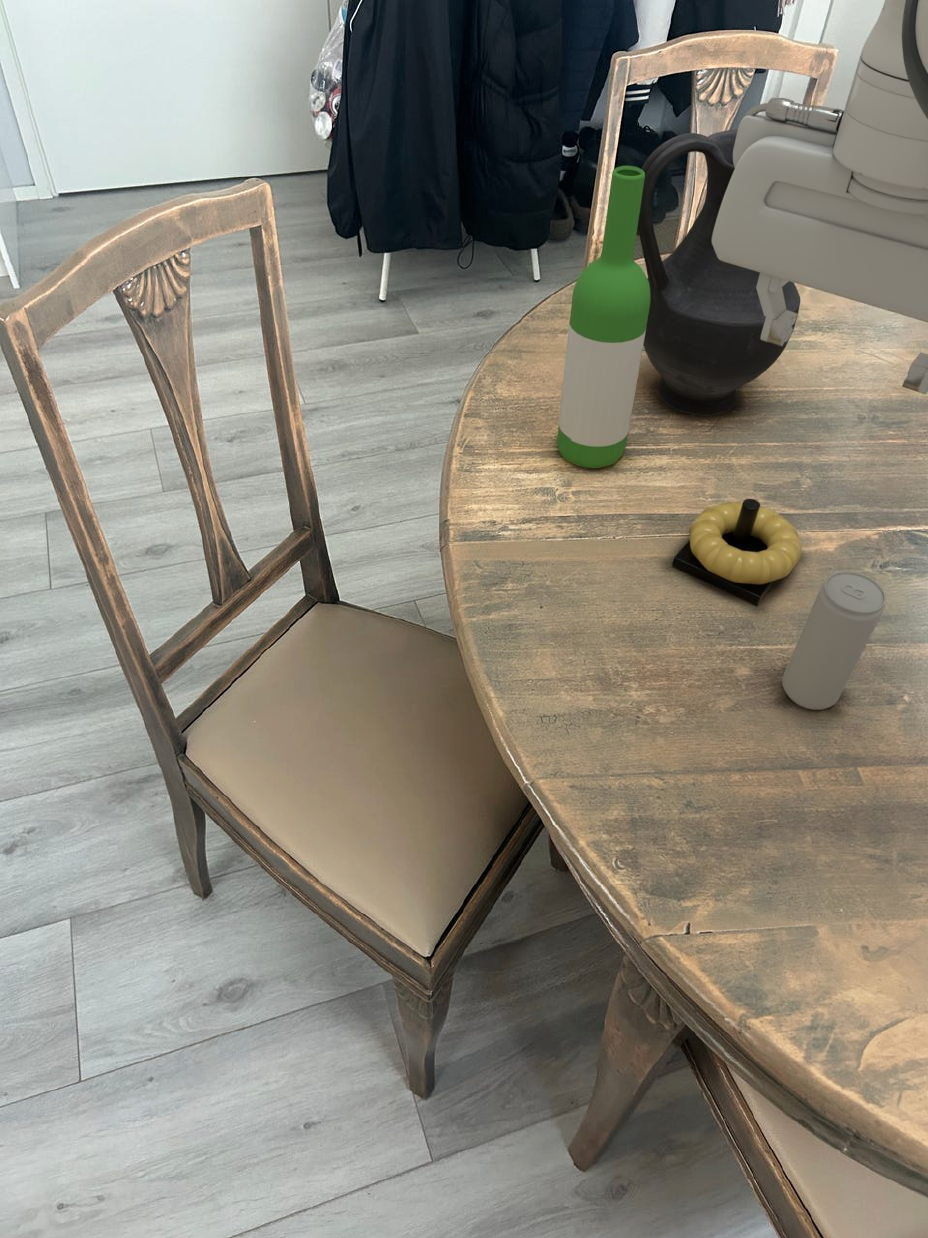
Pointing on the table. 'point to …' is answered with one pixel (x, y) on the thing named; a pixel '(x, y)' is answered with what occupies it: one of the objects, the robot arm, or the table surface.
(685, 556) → the post
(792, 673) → the beverage can
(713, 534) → the ring doughnut
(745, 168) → the robot arm
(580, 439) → the bottle
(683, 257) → the pitcher
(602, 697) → the table surface
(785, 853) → the table surface
